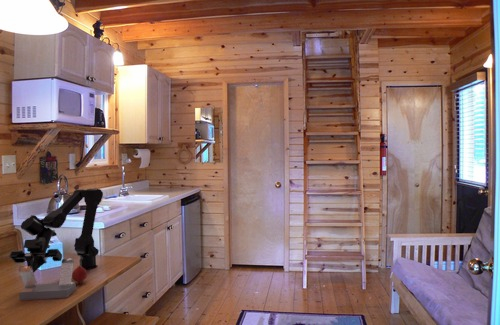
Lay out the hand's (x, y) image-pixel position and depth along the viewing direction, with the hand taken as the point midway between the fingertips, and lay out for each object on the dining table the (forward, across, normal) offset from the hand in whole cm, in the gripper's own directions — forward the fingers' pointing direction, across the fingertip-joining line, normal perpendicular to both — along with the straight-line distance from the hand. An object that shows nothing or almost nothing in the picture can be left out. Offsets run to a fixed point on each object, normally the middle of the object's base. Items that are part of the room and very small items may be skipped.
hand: (29, 275), depth 138 cm
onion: (-2, +14, +15) cm, 21 cm away
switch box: (+5, +7, +7) cm, 11 cm away
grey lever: (+3, +13, +4) cm, 14 cm away
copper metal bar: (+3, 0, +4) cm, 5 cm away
